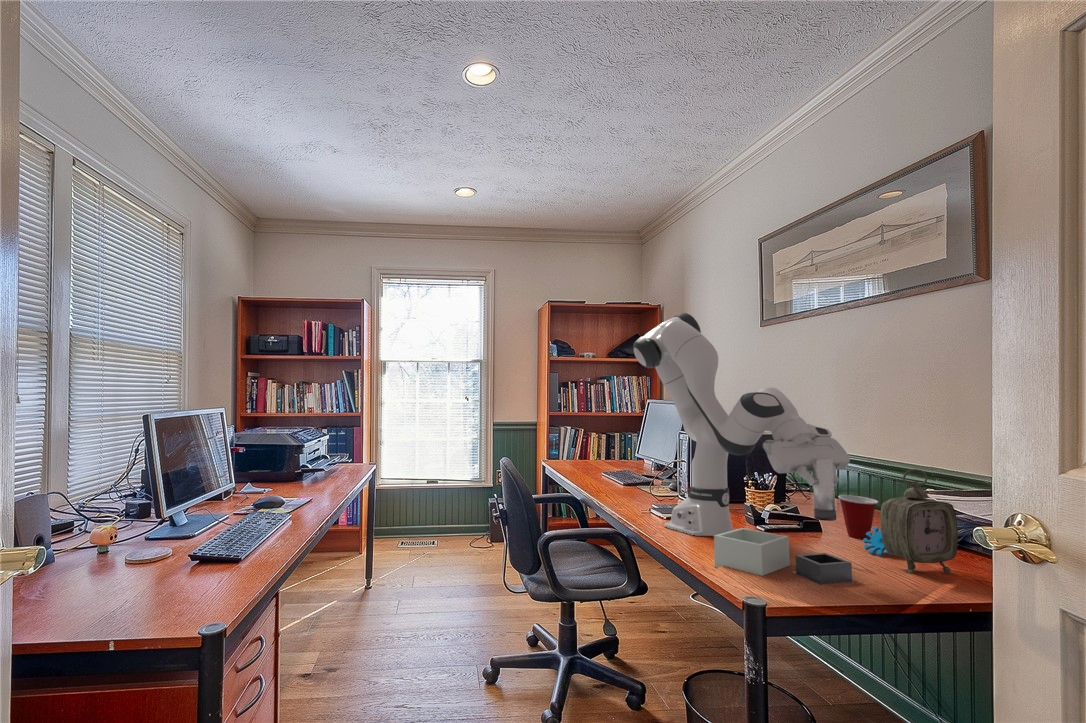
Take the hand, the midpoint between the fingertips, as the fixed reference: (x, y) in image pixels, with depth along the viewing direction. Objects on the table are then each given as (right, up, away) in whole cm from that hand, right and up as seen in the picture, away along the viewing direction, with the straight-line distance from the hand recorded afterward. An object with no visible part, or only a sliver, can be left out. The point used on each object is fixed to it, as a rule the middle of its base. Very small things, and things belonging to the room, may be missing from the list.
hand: (825, 483), depth 134 cm
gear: (+26, -24, +20) cm, 41 cm away
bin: (-14, -23, +9) cm, 29 cm away
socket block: (-1, -23, -1) cm, 23 cm away
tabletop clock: (+25, -23, +5) cm, 34 cm away
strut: (0, -8, 0) cm, 8 cm away
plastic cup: (+30, -25, +40) cm, 56 cm away
